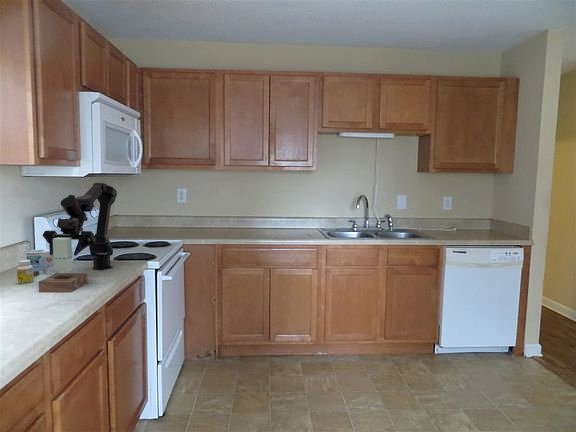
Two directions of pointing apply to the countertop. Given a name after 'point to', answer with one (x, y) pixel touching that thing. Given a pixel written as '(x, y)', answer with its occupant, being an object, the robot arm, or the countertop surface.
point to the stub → (62, 254)
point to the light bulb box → (41, 262)
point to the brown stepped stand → (63, 282)
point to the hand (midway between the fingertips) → (62, 255)
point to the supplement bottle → (25, 272)
